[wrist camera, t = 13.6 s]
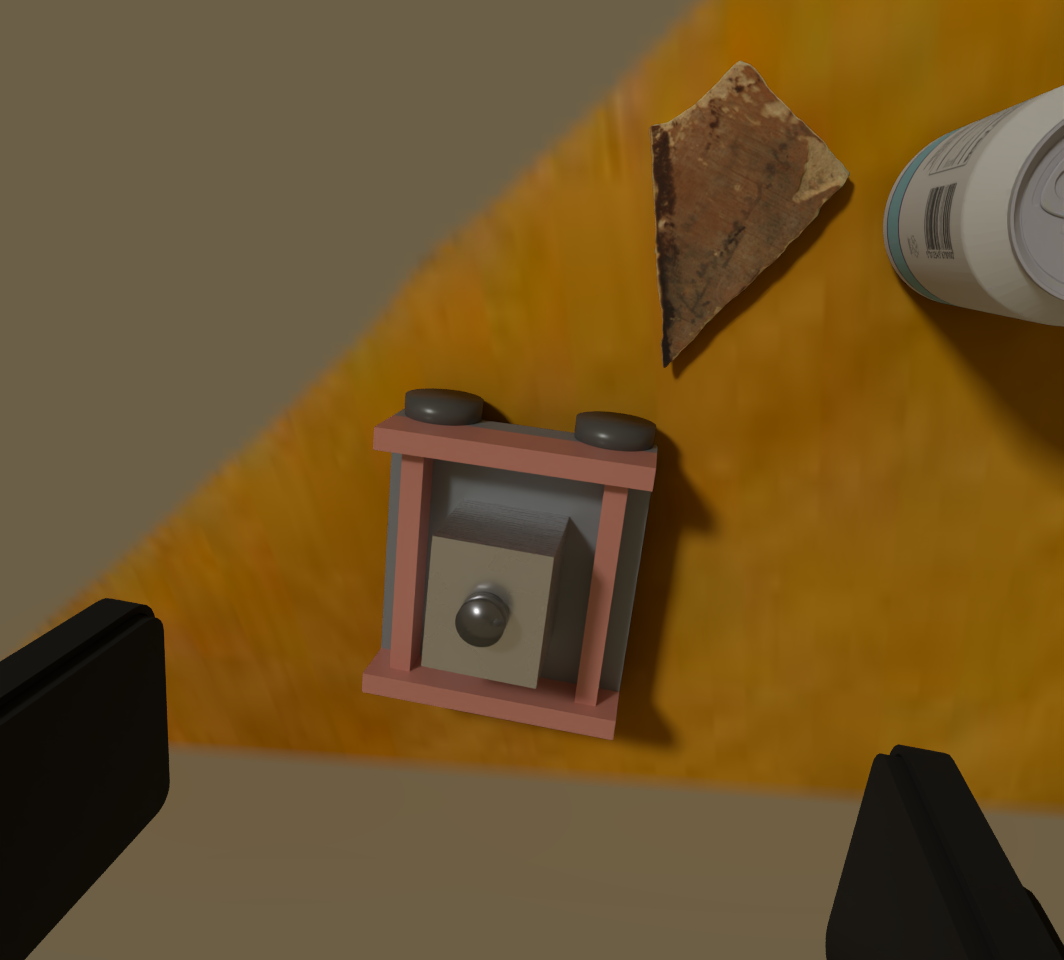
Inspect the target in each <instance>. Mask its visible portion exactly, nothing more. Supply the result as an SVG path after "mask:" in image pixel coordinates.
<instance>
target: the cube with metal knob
mask: <svg viewBox="0 0 1064 960" xmlns="http://www.w3.org/2000/svg"><path fill="white" fill-rule="evenodd" d="M568 524H569V516H564V515H558V514H552V513H546V512H540V511H534V510H528V509H522V508H517V507H511V506H505V505H499V504H493V503H487V502H481V501H475V500H470V499H464V498H463V499H462V501H461V502H460V503H459V504H458V505H457V507H456V508H455V509H454V510H453V511H452V513H451V514H450V515H449V516H448V518H447V519H446V520H445V521H444V522H443V524H442V525H441V526H440V527H439V528H438V530H437V531H436V532H435V533H434V534H433V536H432V545H431V557H430V568H429V580H428V592H427V603H426V615H425V626H424V638H423V650H422V661H421V666H424V667H429V668H434V669H439V670H444V671H449V672H454V673H459V674H464V675H469V676H474V677H479V678H484V679H489V680H494V681H499V682H504V683H509V684H514V685H519V686H524V687H529V688H534V689H536V687H537V684H538V681H539V677H540V674H541V671H542V668H543V664H544V661H545V658H546V655H547V651H548V648H549V645H550V642H551V638H552V635H553V630H554V623H555V616H556V609H557V602H558V595H559V588H560V581H561V574H562V566H563V559H564V552H565V545H566V538H567V531H568Z"/></svg>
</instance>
